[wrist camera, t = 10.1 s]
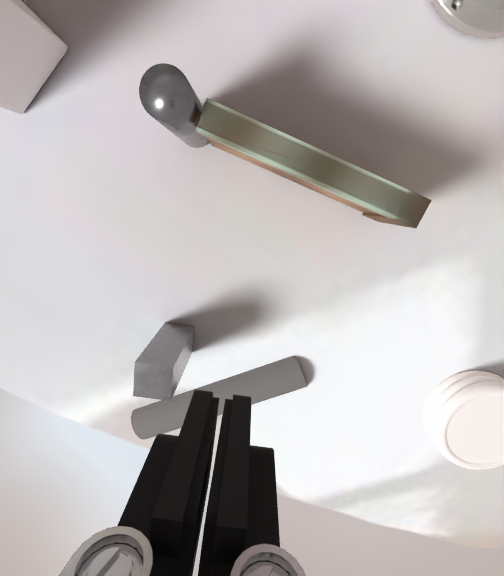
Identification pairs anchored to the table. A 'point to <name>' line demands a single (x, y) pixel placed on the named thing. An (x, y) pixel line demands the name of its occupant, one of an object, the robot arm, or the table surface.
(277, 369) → the half round rod
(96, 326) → the table surface
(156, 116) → the gate posts
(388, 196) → the wooden board
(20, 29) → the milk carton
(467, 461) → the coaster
